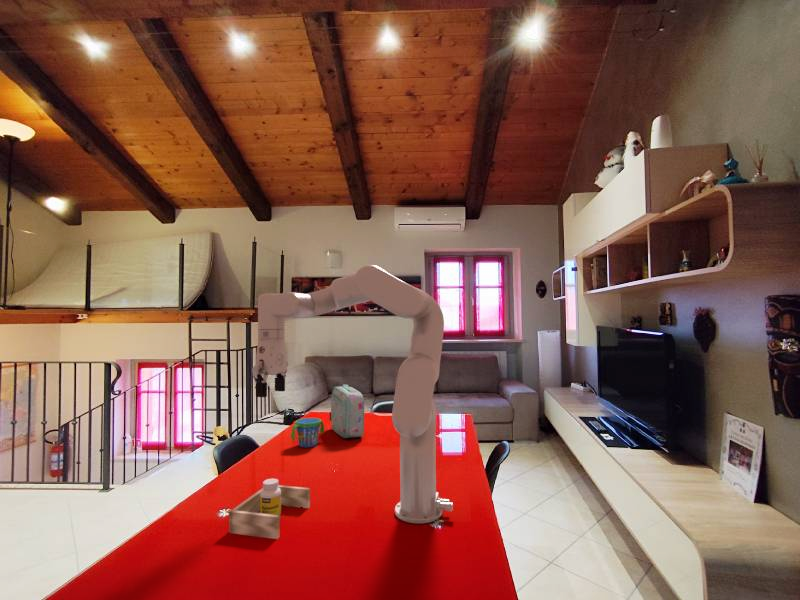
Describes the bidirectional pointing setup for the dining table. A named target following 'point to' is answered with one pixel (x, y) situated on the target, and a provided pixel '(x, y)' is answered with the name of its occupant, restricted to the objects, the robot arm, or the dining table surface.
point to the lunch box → (347, 412)
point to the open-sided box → (265, 525)
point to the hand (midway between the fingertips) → (270, 393)
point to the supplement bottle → (270, 498)
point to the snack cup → (307, 431)
